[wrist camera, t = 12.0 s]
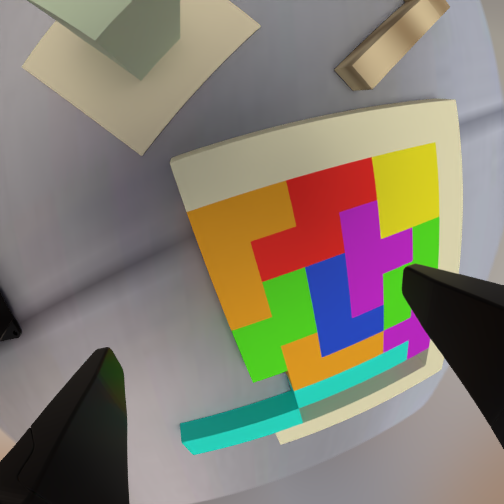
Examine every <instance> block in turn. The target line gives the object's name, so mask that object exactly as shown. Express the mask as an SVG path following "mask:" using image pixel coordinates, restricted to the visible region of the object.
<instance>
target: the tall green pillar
mask: <svg viewBox="0 0 504 504" xmlns="http://www.w3.org/2000/svg"><path fill="white" fill-rule="evenodd" d="M27 1H29V2H30V3H32V4H33V5H35V6H36V7H37V8H39V9H40V10H42V11H43V12H45V13H46V14H48V15H49V16H50V17H52V18H53V19H55V20H56V21H58V22H59V23H60V24H62V25H63V26H65V27H66V28H67V29H69V30H70V31H71V32H73V33H74V34H76V35H77V36H78V37H80V38H81V39H82V40H84V41H85V42H87V43H88V44H90V45H91V46H93V47H94V48H95V49H97V50H98V51H100V52H101V53H103V54H104V55H106V56H107V57H108V58H110V59H111V60H113V61H114V62H116V63H117V64H118V65H120V66H121V67H123V68H124V69H125V70H127V71H128V72H129V73H131V74H132V75H134V76H135V77H136V78H138V79H139V80H140V81H142V79H143V78H144V77H145V76H146V75H147V74H148V72H149V71H150V70H151V69H152V68H153V67H154V66H155V65H156V63H157V62H158V61H159V60H160V59H161V58H162V57H163V56H164V55H165V54H166V53H167V52H168V51H169V50H170V48H171V47H172V46H173V45H174V44H175V43H176V42H177V41H178V40H179V39H180V0H27Z"/></svg>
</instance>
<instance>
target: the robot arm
mask: <svg viewBox="0 0 504 504" xmlns="http://www.w3.org/2000/svg"><path fill="white" fill-rule="evenodd" d="M402 294H403V297H404V298H405V300H406V301H407V303H408V305H409V306H410V308H411V309H412V311H413V313H414V314H415V316H416V318H417V319H418V321H419V322H420V324H421V326H422V327H423V329H424V330H425V332H426V333H427V335H428V336H429V338H430V339H431V340H432V342H433V343H434V344H435V346H436V347H437V348H438V350H439V351H440V352H441V354H442V355H443V357H444V358H445V359H446V361H447V362H448V364H449V365H450V366H451V368H452V369H453V371H454V372H455V373H456V375H457V376H458V378H459V379H460V380H461V382H462V384H463V385H464V386H465V388H466V389H467V391H468V392H469V394H470V395H471V397H472V398H473V400H474V401H475V403H476V405H477V406H478V408H479V409H480V411H481V412H482V414H483V415H484V417H485V419H486V420H487V422H488V423H489V425H490V426H491V428H492V430H493V432H494V434H495V435H496V437H497V438H498V440H499V442H500V443H501V445H502V447H503V449H504V285H500V284H496V283H492V282H489V281H485V280H481V279H477V278H473V277H469V276H465V275H461V274H457V273H453V272H449V271H445V270H441V269H437V268H433V267H428V266H424V265H420V264H412V265H409V266H406V267H405V268H404V270H403V278H402ZM15 331H16V332H15ZM20 335H21V329H20V328H19V326H18V324H17V322H16V321H15V319H14V317H13V315H12V314H11V312H10V310H9V308H8V306H7V304H6V303H5V301H4V299H3V297H2V295H1V293H0V341H4V340H9V339H14V338H18V337H20ZM0 504H129V489H128V464H127V410H126V398H125V385H124V373H123V369H122V367H121V365H120V363H119V362H118V360H117V358H116V356H115V355H114V353H113V351H112V350H111V349H110V348H109V347H105V348H100V349H97V350H95V352H94V353H93V354H92V355H91V356H90V357H89V358H88V359H87V361H86V362H85V363H84V364H83V365H82V366H81V367H80V368H79V370H78V371H77V372H76V373H75V374H74V375H73V376H72V378H71V379H70V380H69V381H68V382H67V383H66V385H65V386H64V387H63V388H62V389H61V390H60V392H59V393H58V394H57V395H56V396H55V397H54V399H53V400H52V401H51V402H50V403H49V405H48V406H47V407H46V408H45V409H44V411H43V412H42V413H41V414H40V415H39V417H38V418H37V419H36V420H35V421H34V423H33V424H32V425H31V428H29V429H28V430H27V431H26V433H25V434H24V435H23V436H22V437H21V439H20V440H19V441H18V442H17V443H16V445H15V446H14V447H13V448H12V449H11V450H10V452H9V453H8V454H7V455H6V456H5V457H4V458H3V459H2V460H1V462H0Z"/></svg>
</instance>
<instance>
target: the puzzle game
mask: <svg viewBox="0 0 504 504" xmlns="http://www.w3.org/2000/svg"><path fill="white" fill-rule="evenodd" d="M170 165H171V168H172V171H173V174H174V177H175V180H176V183H177V186H178V189H179V192H180V195H181V198H182V201H183V203H184V206H185V209H186V212H187V215H188V218H189V220H190V223H191V226H192V229H193V232H194V234H195V237H196V240H197V242H198V245H199V248H200V251H201V253H202V256H203V259H204V261H205V264H206V267H207V269H208V272H209V275H210V277H211V280H212V283H213V285H214V288H215V290H216V293H217V295H218V298H219V301H220V303H221V306H222V308H223V311H224V313H225V316H226V318H227V321H228V323H229V326H230V328H231V331H232V333H233V336H234V338H235V341H236V343H237V345H238V348H239V350H240V353H241V355H242V358H243V360H244V362H245V365H246V367H247V369H248V372H249V374H250V376H251V379H252V381H253V383H254V382H257V381H260V380H263V379H266V378H269V377H272V376H274V375H277V374H280V373H283V372H286V374H287V378H288V381H289V384H290V388H291V391H288V392H286V393H283V394H280V395H277V396H274V397H271V398H268V399H265V400H262V401H259V402H256V403H253V404H250V405H247V406H243V407H240V408H237V409H233V410H230V411H227V412H223V413H219V414H216V415H212V416H208V417H205V418H201V419H197V420H193V421H189V422H185V423H180V429H181V441H182V443H183V445H184V446H185V447H186V448H187V449H188V450H189V451H190V452H191V453H192V454H193V455H196V454H200V453H205V452H209V451H213V450H217V449H221V448H225V447H229V446H233V445H237V444H240V443H244V442H247V441H251V440H254V439H257V438H261V437H264V436H267V435H270V434H273V433H276V435H277V438H278V440H279V442H280V444H284V443H287V442H290V441H293V440H296V439H299V438H302V437H304V436H307V435H310V434H312V433H315V432H317V431H320V430H323V429H325V428H328V427H330V426H332V425H335V424H337V423H340V422H342V421H344V420H346V419H349V418H351V417H353V416H355V415H358V414H360V413H362V412H364V411H366V410H368V409H370V408H373V407H375V406H377V405H379V404H381V403H383V402H385V401H387V400H389V399H391V398H392V397H394V396H396V395H398V394H400V393H402V392H404V391H406V390H407V389H409V388H411V387H413V386H414V385H416V384H418V383H420V382H421V381H423V380H425V379H427V378H428V377H430V376H432V375H433V374H435V373H437V372H438V371H440V370H441V368H442V364H443V360H444V357H443V355H442V354H441V352H440V351H439V350H438V348H437V347H436V346H435V344H434V343H433V342H432V340H431V339H430V338H429V336H428V335H427V333H426V332H425V330H424V329H423V327H422V326H421V324H420V322H419V321H418V319H417V318H416V316H415V314H414V313H413V311H412V309H411V308H410V306H409V305H408V303H407V301H406V300H405V298H404V297H403V294H402V278H403V270H404V268H405V267H406V266H409V265H412V264H420V265H424V266H428V267H433V268H437V269H441V270H445V271H449V272H453V273H457V274H459V264H460V253H461V238H462V214H463V181H462V157H461V143H460V132H459V122H458V114H457V106H456V100H451V99H425V100H416V101H408V102H400V103H392V104H385V105H379V106H372V107H366V108H360V109H355V110H349V111H344V112H338V113H333V114H328V115H323V116H319V117H314V118H309V119H305V120H300V121H296V122H292V123H288V124H283V125H279V126H275V127H271V128H267V129H264V130H260V131H256V132H252V133H249V134H245V135H242V136H238V137H235V138H231V139H228V140H224V141H221V142H218V143H214V144H211V145H208V146H205V147H202V148H199V149H196V150H193V151H189V152H186V153H184V154H181V155H178V156H175V157H172V158H171V160H170Z"/></svg>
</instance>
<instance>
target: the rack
mask: <svg viewBox="0 0 504 504" xmlns="http://www.w3.org/2000/svg"><path fill="white" fill-rule="evenodd" d="M404 1H405V3H404V4H403V5H402V6H401V7H400V8H399V9H397V10H396V11H395V12H394V13H393V14H392V15H391V16H390V17H389V18H388V19H386V20H385V21H384V22H383V23H382V24H381V25H380V26H379V27H378V28H377V29H376V30H375V31H373V32H372V33H371V34H370V35H369V36H368V37H367V38H366V39H365V40H364V41H363V42H362V43H361V44H360V45H359V46H358V47H357V48H356V49H355V50H354V51H353V52H351V53H350V54H349V55H348V56H347V57H346V58H345V59H344V60H343V61H342V62H341V63H340V64H339V65H338V66H337V67H336V68H335V69H334V70H335V71H336V73H337V74H338V75H339V76H340V77H341V78H342V79H343V80H344V81H345V82H346V83H347V85H348V86H349V87H350V88H351V89H352V90H353V91H355V90H369V89H373V88H374V87H375V86H376V85H377V84H378V83H379V82H380V81H381V79H382V78H383V77H384V76H385V75H386V74H387V73H388V72H389V71H390V70H391V69H392V68H393V67H394V65H395V64H396V63H397V62H398V61H399V60H400V59H401V58H402V57H403V56H404V55H405V54H406V53H407V52H408V51H409V50H410V48H411V47H412V46H413V45H414V44H415V43H416V42H417V41H418V40H419V39H420V38H421V37H422V36H423V35H424V34H425V33H426V32H427V31H428V30H429V28H430V27H431V26H432V25H433V24H434V23H435V22H436V21H437V20H438V19H439V18H440V17H441V16H442V15H443V14H444V13H445V12H446V11H447V10H448V9H449V8H450V6H449V5H448V3H447V2H446V0H404Z"/></svg>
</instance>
